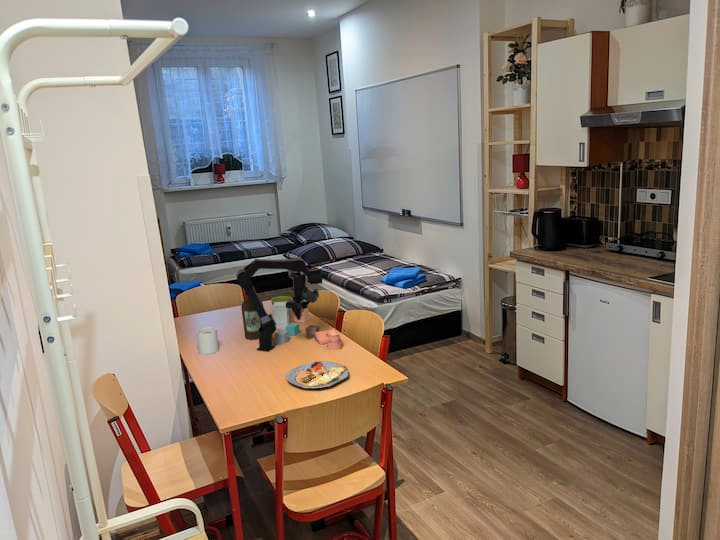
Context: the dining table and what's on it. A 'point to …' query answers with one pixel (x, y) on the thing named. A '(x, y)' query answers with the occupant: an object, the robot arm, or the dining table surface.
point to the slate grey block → (281, 337)
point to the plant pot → (281, 300)
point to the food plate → (318, 368)
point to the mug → (207, 340)
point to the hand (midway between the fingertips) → (301, 317)
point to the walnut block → (312, 331)
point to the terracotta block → (302, 315)
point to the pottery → (329, 339)
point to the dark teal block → (293, 329)
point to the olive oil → (250, 319)
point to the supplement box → (281, 315)
